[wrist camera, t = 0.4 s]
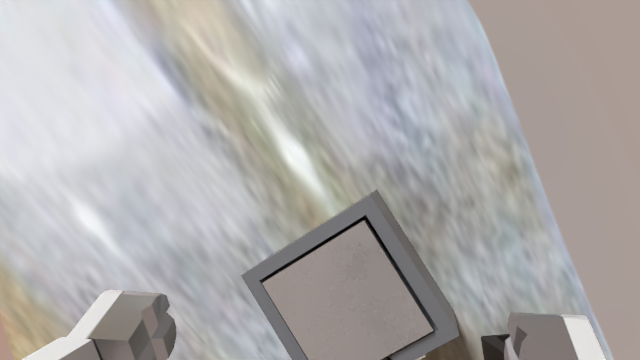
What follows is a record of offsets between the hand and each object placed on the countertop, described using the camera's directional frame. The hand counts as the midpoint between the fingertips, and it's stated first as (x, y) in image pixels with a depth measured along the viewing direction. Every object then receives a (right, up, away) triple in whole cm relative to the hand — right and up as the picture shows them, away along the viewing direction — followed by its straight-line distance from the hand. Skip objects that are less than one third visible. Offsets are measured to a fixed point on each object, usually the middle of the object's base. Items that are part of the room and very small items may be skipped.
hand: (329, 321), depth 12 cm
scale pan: (+4, -12, +44) cm, 46 cm away
